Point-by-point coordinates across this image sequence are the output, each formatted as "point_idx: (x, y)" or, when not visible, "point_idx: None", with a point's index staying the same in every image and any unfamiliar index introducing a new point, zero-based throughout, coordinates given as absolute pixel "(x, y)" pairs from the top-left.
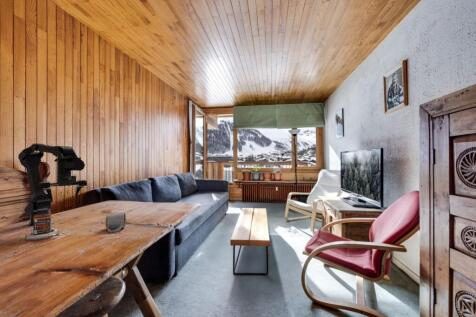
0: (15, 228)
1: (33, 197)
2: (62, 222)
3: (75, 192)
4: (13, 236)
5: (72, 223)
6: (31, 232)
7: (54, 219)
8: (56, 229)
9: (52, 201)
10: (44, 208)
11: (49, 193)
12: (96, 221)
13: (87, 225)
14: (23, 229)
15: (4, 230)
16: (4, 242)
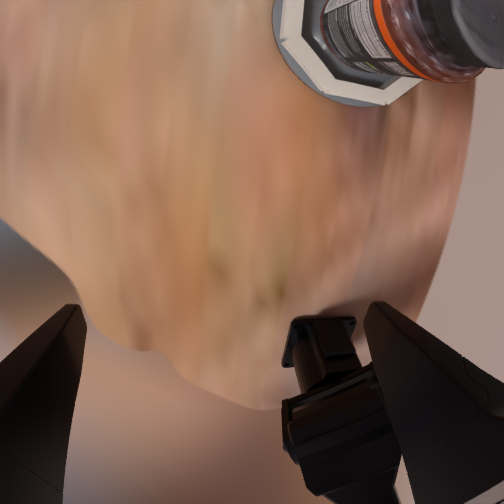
0: (397, 304)
1: (401, 452)
2: (214, 288)
3: (51, 434)
4: (444, 155)
5: (161, 220)
6: (410, 81)
7: (243, 367)
8: (289, 18)
9: (378, 306)
10: (482, 44)
11: (490, 386)
12: (27, 169)
13: (79, 86)
14: (388, 264)
15: (426, 296)
16: (475, 78)
